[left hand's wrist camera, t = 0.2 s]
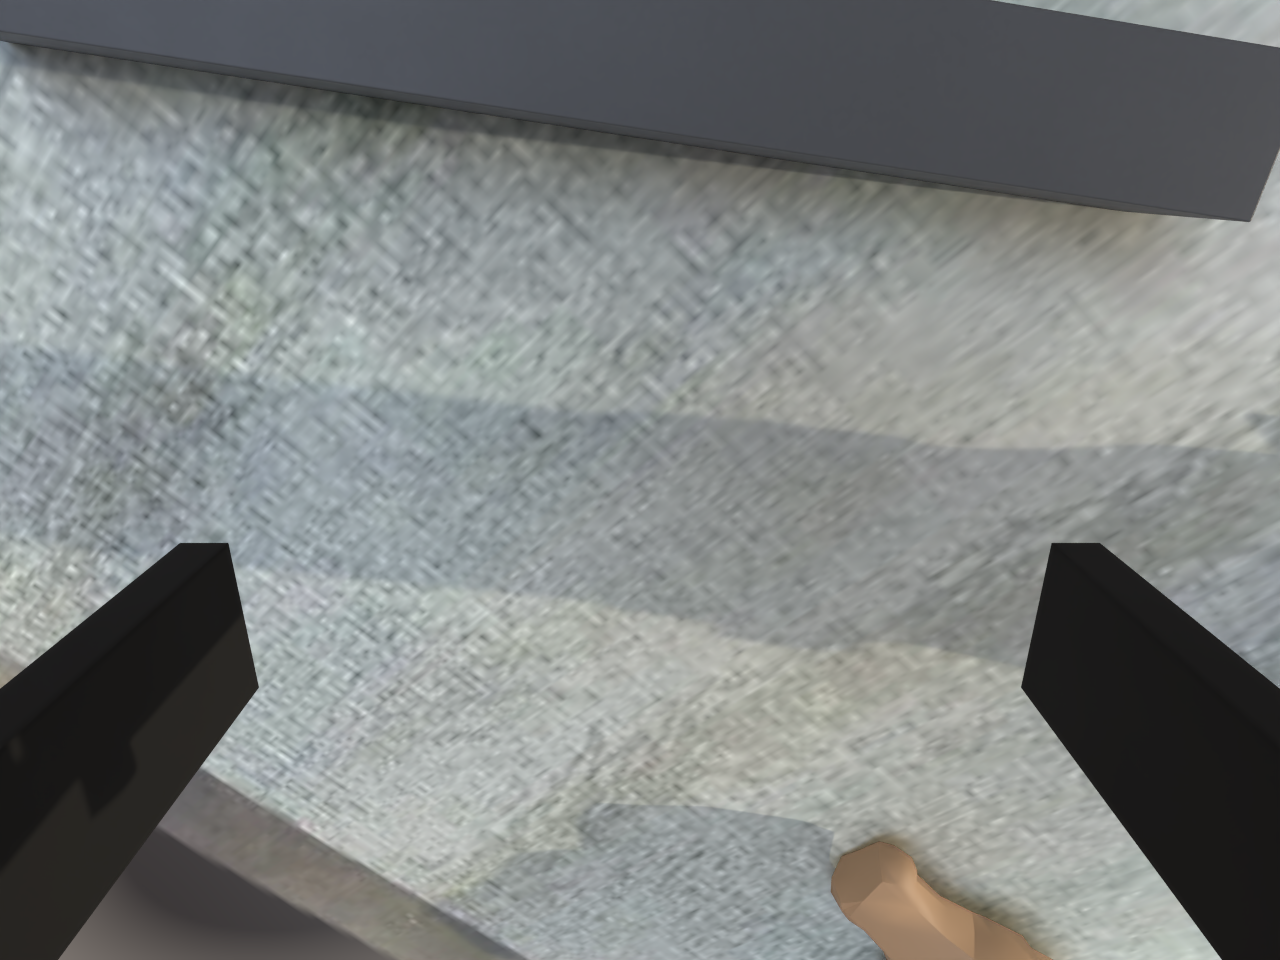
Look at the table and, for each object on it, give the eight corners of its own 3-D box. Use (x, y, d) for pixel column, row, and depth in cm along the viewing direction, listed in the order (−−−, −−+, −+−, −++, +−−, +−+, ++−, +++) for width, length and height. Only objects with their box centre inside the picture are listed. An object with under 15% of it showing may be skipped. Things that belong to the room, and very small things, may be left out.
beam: (6, 41, 34) (-172, 5, 27) (-16, -113, 32) (-214, -198, 25) (1127, 211, 37) (1251, 222, 29) (1172, 78, 35) (1319, 53, 27)
